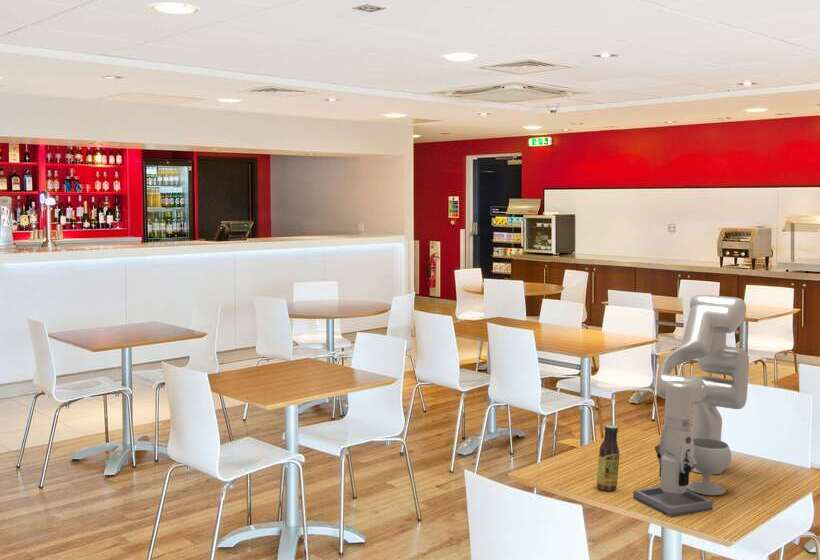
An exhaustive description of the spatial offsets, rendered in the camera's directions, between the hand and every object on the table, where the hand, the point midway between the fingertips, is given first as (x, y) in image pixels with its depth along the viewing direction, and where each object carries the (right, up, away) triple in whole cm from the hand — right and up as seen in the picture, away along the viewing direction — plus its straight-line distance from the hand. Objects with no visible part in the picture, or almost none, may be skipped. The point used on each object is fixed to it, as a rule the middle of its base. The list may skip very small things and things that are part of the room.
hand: (673, 480), depth 256 cm
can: (0, -4, 0) cm, 4 cm away
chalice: (+14, -6, +14) cm, 21 cm away
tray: (0, -7, +1) cm, 7 cm away
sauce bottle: (-17, -6, +13) cm, 22 cm away
